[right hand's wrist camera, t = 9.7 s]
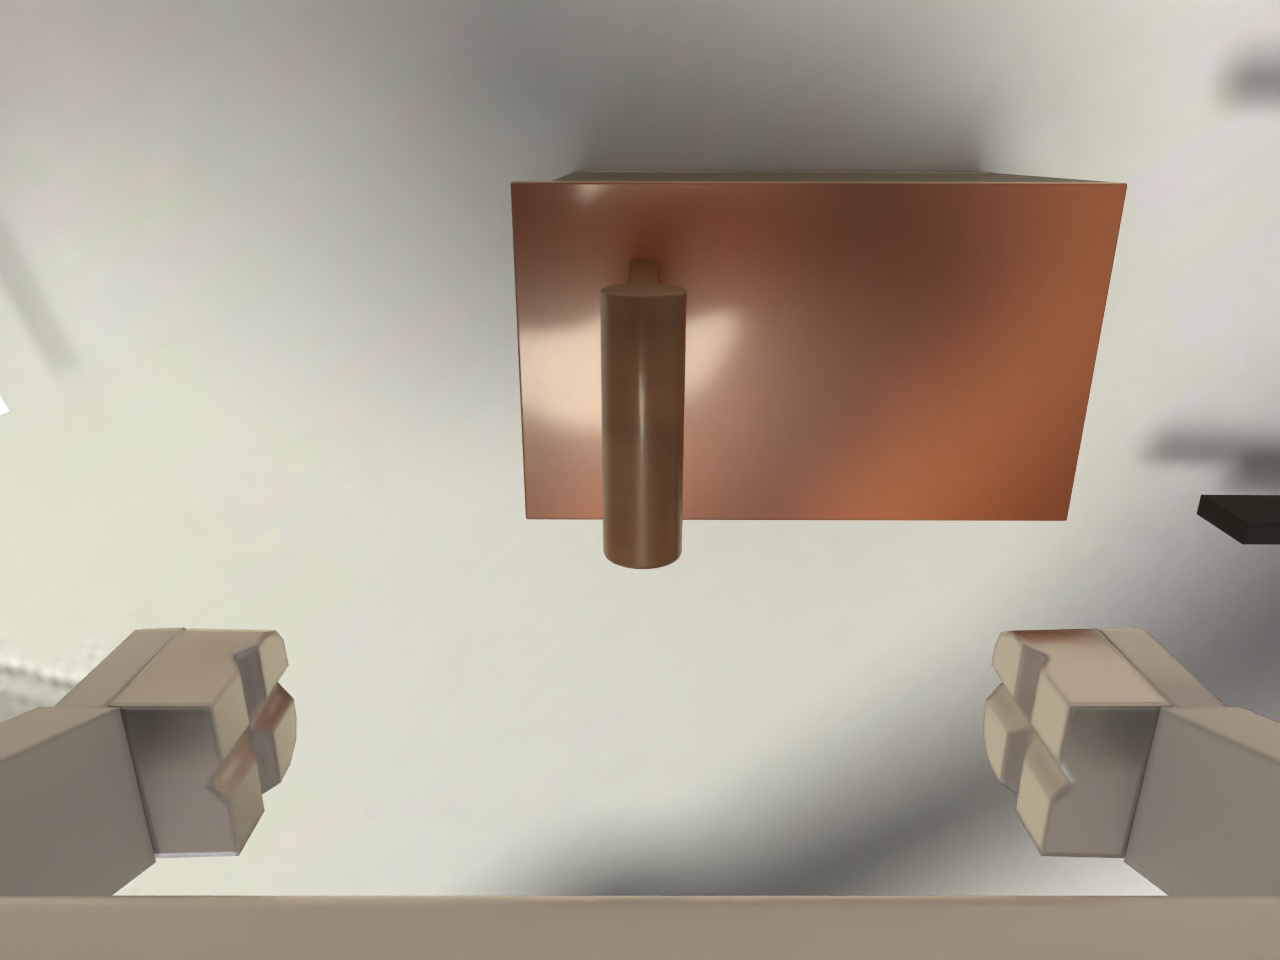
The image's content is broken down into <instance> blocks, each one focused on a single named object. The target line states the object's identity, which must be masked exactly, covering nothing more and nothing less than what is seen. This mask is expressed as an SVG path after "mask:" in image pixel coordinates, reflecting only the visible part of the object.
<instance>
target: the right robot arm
mask: <svg viewBox="0 0 1280 960" xmlns="http://www.w3.org/2000/svg"><path fill="white" fill-rule="evenodd" d="M7 411H8V409H7V407H6V406H5V404H4V402H3V400H2V399H1V397H0V414H3V413H5V412H7ZM287 667H288V660H287V655H286V650H285V645H284V640H283V638H282V637H281V636H280V635H279V634H278V633H277V631H276V630H232V629H185V628H156V629H141V630H135V631H134V632H133V633H132V634H131V635H130V636H128V637H127V638H126V639H125V640H124V641H123V642H122V643H121V644H120V645H119V646H118V647H117V648H116V649H115V650H114V651H113V652H111V653H110V654H109V655H108V656H107V657H106V658H105V659H104V660H103V661H102V662H101V663H100V664H99V665H98V666H97V667H96V668H94V669H93V670H92V671H91V672H90V673H89V674H88V675H87V676H86V677H85V678H84V679H83V680H82V681H81V682H80V683H79V684H78V685H76V686H75V687H74V688H73V689H72V690H71V691H70V692H69V693H68V694H67V695H66V696H65V697H64V698H63V699H62V700H61V701H59V702H58V703H57V704H56V705H55V706H54V707H38V708H35V709H33V710H31V711H28V712H26V713H23V714H21V715H19V716H16V717H14V718H11V719H9V720H7V721H4V722H2V723H0V960H1280V723H1278V722H1276V721H1273V720H1271V719H1269V718H1266V717H1264V716H1261V715H1259V714H1257V713H1254V712H1252V711H1249V710H1247V709H1245V708H1242V707H1226V706H1225V705H1224V704H1223V703H1222V702H1221V701H1220V700H1219V699H1217V698H1216V697H1215V696H1214V695H1213V694H1212V693H1211V692H1210V691H1209V690H1208V689H1207V688H1206V687H1205V686H1204V685H1203V684H1202V683H1201V682H1199V681H1198V680H1197V679H1196V678H1195V677H1194V676H1193V675H1192V674H1191V673H1190V672H1189V671H1188V670H1187V669H1186V668H1185V667H1184V666H1183V665H1181V664H1180V663H1179V662H1178V661H1177V660H1176V659H1175V658H1174V657H1173V656H1172V655H1171V654H1170V653H1169V652H1168V651H1167V650H1166V649H1165V648H1163V647H1162V646H1161V645H1160V644H1159V643H1158V642H1157V641H1156V640H1155V639H1154V638H1153V637H1152V636H1151V635H1150V634H1149V633H1148V632H1147V631H1144V630H1141V629H1137V628H1113V629H1065V630H1024V631H1007V632H1001V633H1000V635H999V637H998V640H997V642H996V644H995V648H994V654H993V659H992V667H993V668H994V670H995V671H996V673H997V674H998V676H999V677H1000V679H1001V680H1002V683H1001V684H1000V685H999V686H998V687H997V688H996V689H995V690H994V692H993V693H992V694H991V695H990V696H989V697H988V698H987V699H986V705H985V713H984V722H983V729H984V739H985V749H986V753H987V756H988V759H989V762H990V765H991V768H992V770H993V771H994V773H995V775H996V777H997V779H998V781H999V783H1001V784H1003V785H1004V786H1006V787H1007V788H1009V789H1010V790H1012V791H1014V792H1015V793H1017V794H1018V799H1017V805H1016V813H1017V814H1018V816H1019V818H1020V820H1021V821H1022V823H1023V825H1024V826H1025V828H1026V830H1027V832H1028V833H1029V835H1030V837H1031V839H1032V840H1033V842H1034V844H1035V846H1036V847H1037V849H1038V851H1039V852H1040V854H1041V856H1067V857H1104V858H1125V859H1124V862H1125V863H1126V864H1128V865H1129V866H1130V867H1132V868H1133V869H1134V870H1136V871H1137V872H1138V873H1140V874H1141V875H1142V876H1144V877H1145V878H1146V879H1148V880H1149V881H1150V882H1151V883H1153V884H1154V885H1155V886H1157V887H1158V888H1159V889H1161V890H1162V891H1163V892H1165V893H1166V894H1167V895H1169V896H112V895H113V894H114V893H116V892H117V891H118V890H120V889H121V888H122V887H124V886H125V885H126V884H128V883H129V882H130V881H131V880H133V879H134V878H135V877H137V876H138V875H139V874H141V873H142V872H143V871H145V870H146V869H147V868H149V867H150V866H151V865H153V864H154V863H155V862H156V860H155V858H175V857H211V856H239V854H240V853H241V851H242V849H243V847H244V846H245V844H246V842H247V840H248V839H249V837H250V835H251V834H252V832H253V830H254V828H255V827H256V825H257V823H258V821H259V820H260V818H261V816H262V814H263V813H264V805H263V799H262V794H263V793H265V792H266V791H268V790H270V789H271V788H273V787H274V786H276V785H277V784H279V783H281V781H282V779H283V777H284V775H285V773H286V771H287V769H288V768H289V766H290V763H291V759H292V755H293V751H294V746H295V742H296V720H297V718H296V711H295V704H294V699H293V698H292V697H291V696H290V695H289V694H288V693H287V692H286V690H285V689H284V688H283V687H282V686H281V685H280V684H279V683H278V680H279V679H280V677H281V676H282V674H283V673H284V671H285V670H286V668H287Z"/></svg>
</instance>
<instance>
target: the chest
mask: <svg viewBox="0 0 1280 960" xmlns="http://www.w3.org/2000/svg"><path fill="white" fill-rule="evenodd" d="M554 181H718V182H1102V181H1089V180H1076V179H1063V178H1050V177H1037V176H1024V175H1011V174H998V173H990V172H814V171H575V172H573V173H572V174H569V175H567V176H564V177H562V178H559V179H556V180H554Z"/></svg>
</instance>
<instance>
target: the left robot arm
mask: <svg viewBox="0 0 1280 960" xmlns="http://www.w3.org/2000/svg"><path fill="white" fill-rule="evenodd" d="M1197 514H1198V515H1199V516H1201V517H1202V518H1204V519H1205V520H1207V521H1208V522H1210V523H1211V524H1213V525H1214V526H1216V527H1217V528H1219V529H1220V530H1222V531H1223V532H1225V533H1226V534H1228V535H1229V536H1231V537H1232V538H1234V539H1235V540H1237V541H1238V542H1240V543H1241V544H1280V495H1201V498H1200V502H1199V506H1198V511H1197Z"/></svg>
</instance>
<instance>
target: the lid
mask: <svg viewBox="0 0 1280 960" xmlns="http://www.w3.org/2000/svg"><path fill="white" fill-rule="evenodd" d="M1126 189H1127V184H1126V183H1115V182H718V181H515V182H512V183H511V203H512V225H513V247H514V269H515V290H516V312H517V334H518V356H519V377H520V399H521V421H522V443H523V464H524V486H525V508H526V519H603V542H604V554H605V556H606V558H607V559H608V560H609V561H611V562H612V563H614V564H617V565H619V566H623V567H627V568H634V569H652V568H658V567H663V566H666V565H669V564H671V563H673V562H675V561H676V560H677V559H678V558H679V557H680V555H681V552H682V520H1012V521H1066V520H1067V515H1068V509H1069V504H1070V498H1071V493H1072V487H1073V482H1074V476H1075V471H1076V465H1077V460H1078V454H1079V449H1080V443H1081V438H1082V432H1083V427H1084V421H1085V416H1086V410H1087V405H1088V399H1089V393H1090V388H1091V382H1092V377H1093V371H1094V366H1095V360H1096V355H1097V349H1098V344H1099V338H1100V333H1101V327H1102V322H1103V316H1104V311H1105V305H1106V300H1107V294H1108V289H1109V283H1110V277H1111V272H1112V266H1113V261H1114V255H1115V250H1116V244H1117V239H1118V233H1119V228H1120V222H1121V217H1122V211H1123V206H1124V200H1125V195H1126Z"/></svg>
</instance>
